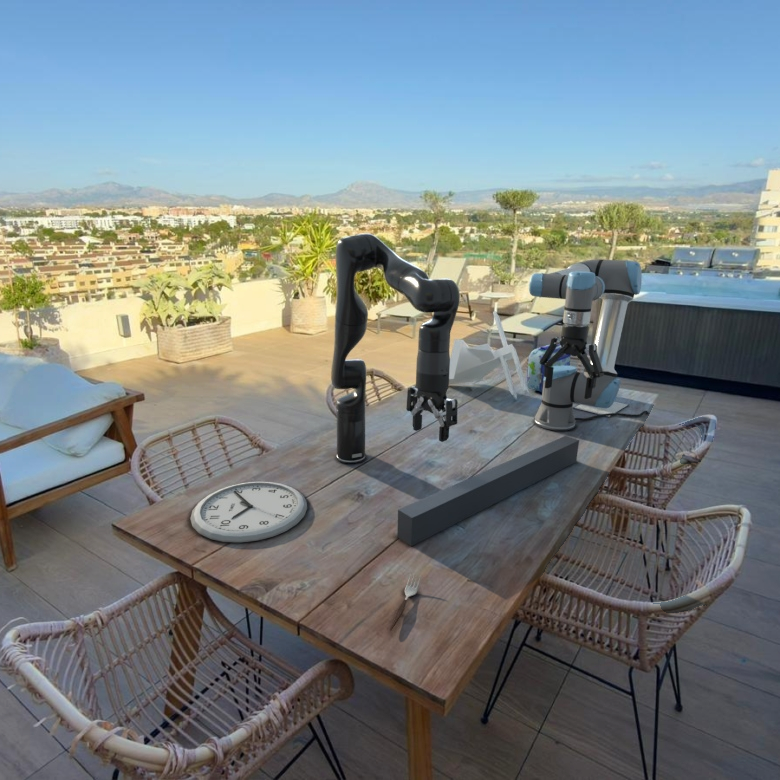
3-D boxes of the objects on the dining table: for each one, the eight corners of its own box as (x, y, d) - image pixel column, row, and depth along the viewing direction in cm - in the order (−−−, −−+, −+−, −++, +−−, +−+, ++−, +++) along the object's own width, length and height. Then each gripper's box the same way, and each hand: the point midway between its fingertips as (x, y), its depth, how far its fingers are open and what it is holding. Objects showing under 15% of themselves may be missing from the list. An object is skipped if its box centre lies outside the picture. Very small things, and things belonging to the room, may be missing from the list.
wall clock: (302, 534, 126) (174, 538, 123) (303, 540, 126) (175, 544, 124) (310, 477, 154) (206, 479, 152) (310, 482, 155) (206, 484, 152)
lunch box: (542, 396, 239) (547, 351, 232) (522, 391, 246) (526, 347, 240) (570, 385, 256) (575, 343, 250) (550, 380, 263) (554, 339, 257)
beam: (562, 456, 176) (565, 435, 173) (576, 461, 172) (579, 440, 170) (397, 537, 129) (397, 509, 126) (411, 546, 125) (412, 518, 123)
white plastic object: (461, 429, 252) (437, 405, 227) (444, 352, 274) (420, 323, 250) (535, 404, 240) (518, 377, 215) (510, 326, 262) (492, 293, 237)
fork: (383, 631, 98) (383, 622, 98) (409, 580, 113) (410, 572, 112) (396, 635, 98) (396, 626, 97) (421, 583, 112) (421, 575, 111)
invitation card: (608, 416, 214) (573, 407, 224) (608, 416, 214) (573, 408, 224) (628, 404, 229) (594, 396, 238) (628, 405, 229) (594, 397, 238)
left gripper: (399, 365, 121) (398, 430, 126) (444, 378, 111) (441, 448, 116) (422, 360, 126) (420, 423, 131) (467, 372, 116) (463, 440, 121)
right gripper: (532, 320, 162) (526, 385, 168) (609, 332, 144) (599, 405, 151) (546, 317, 167) (539, 381, 173) (622, 329, 149) (611, 400, 155)
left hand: (430, 435), depth 123 cm, fingers open, 8 cm apart
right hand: (567, 392), depth 162 cm, fingers open, 13 cm apart
